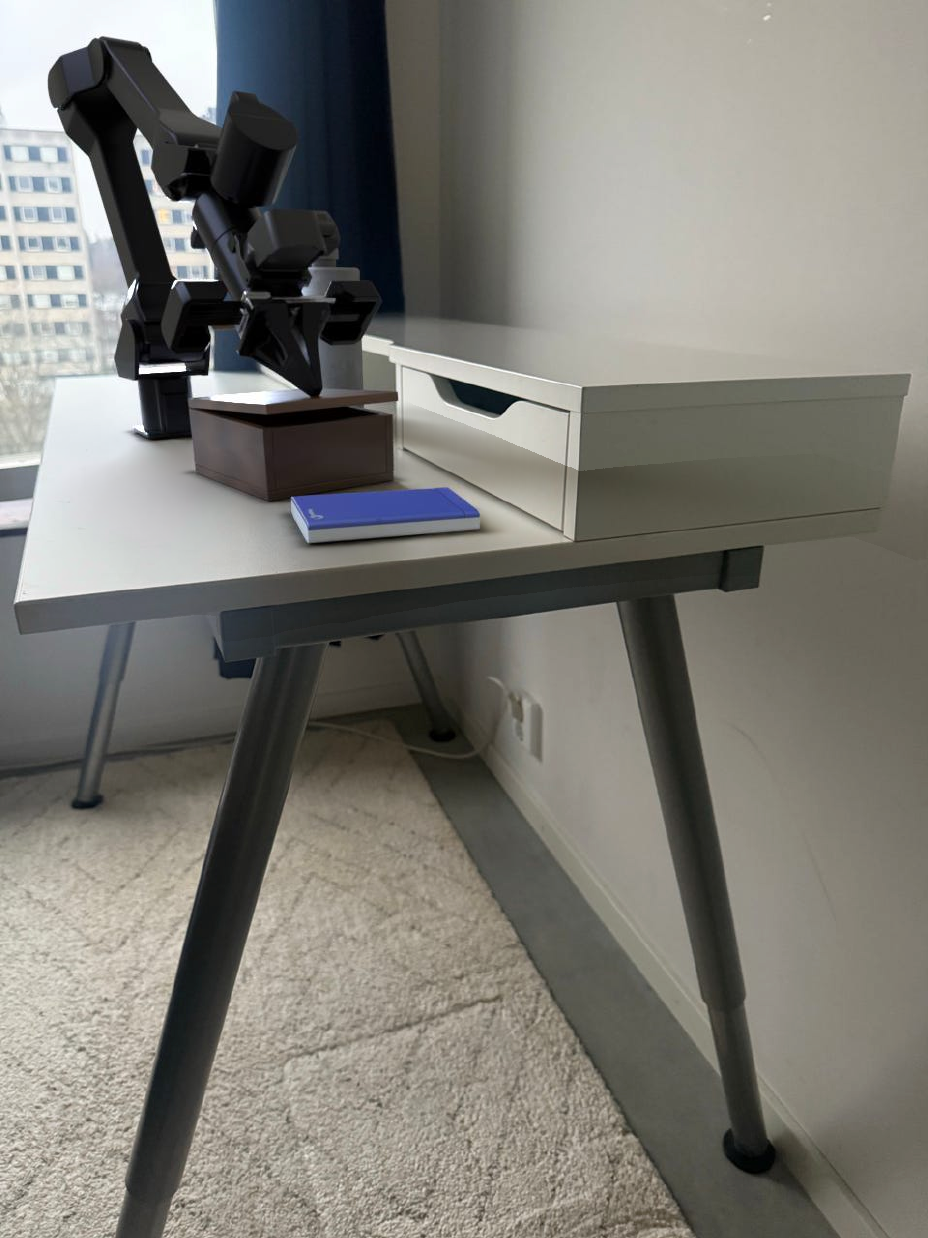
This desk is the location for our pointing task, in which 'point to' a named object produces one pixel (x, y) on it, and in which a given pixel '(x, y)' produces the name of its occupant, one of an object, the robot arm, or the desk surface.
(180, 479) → the desk surface
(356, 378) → the flask
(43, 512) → the desk surface
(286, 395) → the lid
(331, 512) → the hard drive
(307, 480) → the keepsake box
